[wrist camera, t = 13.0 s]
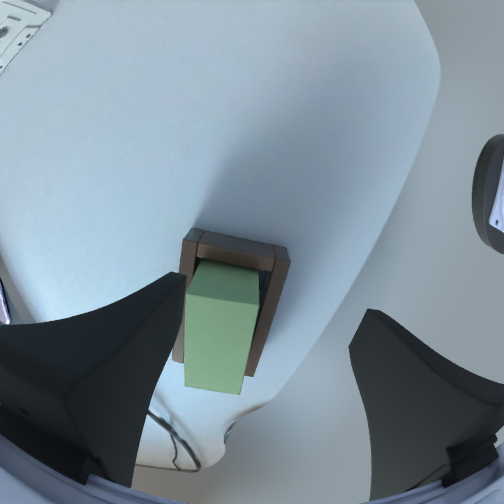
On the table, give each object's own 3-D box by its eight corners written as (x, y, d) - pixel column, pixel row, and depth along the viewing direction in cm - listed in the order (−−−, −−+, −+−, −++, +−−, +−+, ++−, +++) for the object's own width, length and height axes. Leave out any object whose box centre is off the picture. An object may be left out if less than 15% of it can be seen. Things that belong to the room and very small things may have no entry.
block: (258, 260, 20) (259, 304, 14) (243, 342, 23) (239, 395, 17) (204, 251, 20) (185, 293, 14) (197, 335, 23) (184, 386, 17)
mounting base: (287, 247, 20) (291, 261, 17) (253, 357, 24) (253, 377, 21) (191, 227, 19) (182, 238, 17) (178, 342, 23) (171, 361, 21)
